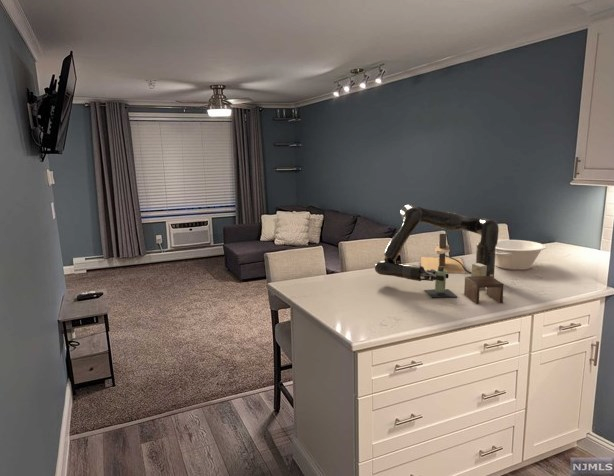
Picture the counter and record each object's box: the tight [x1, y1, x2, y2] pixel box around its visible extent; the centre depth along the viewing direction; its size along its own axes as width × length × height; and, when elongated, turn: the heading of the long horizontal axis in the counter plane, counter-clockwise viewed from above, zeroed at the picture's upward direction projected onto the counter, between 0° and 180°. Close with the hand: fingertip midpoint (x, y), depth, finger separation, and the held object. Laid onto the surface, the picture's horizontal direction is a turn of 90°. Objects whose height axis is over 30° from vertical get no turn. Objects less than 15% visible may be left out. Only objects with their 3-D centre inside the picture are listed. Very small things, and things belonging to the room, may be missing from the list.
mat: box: [424, 288, 458, 299], centre depth 208 cm, size 12×12×1 cm
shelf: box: [463, 275, 505, 305], centre depth 199 cm, size 14×12×9 cm
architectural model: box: [420, 230, 467, 274], centre depth 265 cm, size 38×25×20 cm, turn 165°
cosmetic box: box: [470, 262, 487, 291], centre depth 215 cm, size 6×4×12 cm
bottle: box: [434, 266, 447, 292], centre depth 207 cm, size 5×5×12 cm
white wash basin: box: [495, 239, 547, 271], centre depth 255 cm, size 44×34×13 cm
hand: (445, 277), depth 205 cm, fingers closed on bottle, 5 cm apart
